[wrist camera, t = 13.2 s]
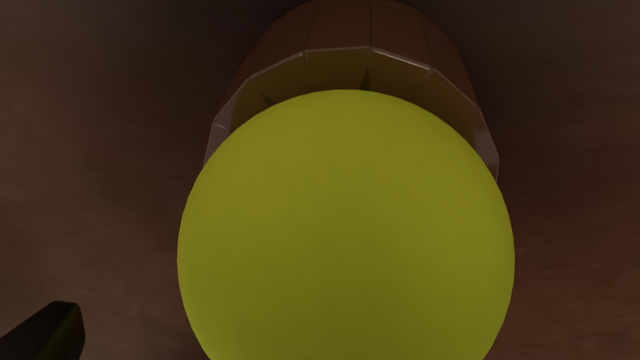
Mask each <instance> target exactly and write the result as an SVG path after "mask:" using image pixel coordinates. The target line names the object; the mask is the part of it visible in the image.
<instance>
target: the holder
mask: <svg viewBox="0 0 640 360" xmlns="http://www.w3.org/2000/svg"><path fill="white" fill-rule="evenodd" d="M328 90H363V91H371V92H378V93H382V94H385V95H389V96H393V97H397V98H400V99H402V100H405V101H407V102H410V103H412V104H415V105H417V106H419V107H421V108H423V109H424V110H426V111H428V112H430V113H432V114H434V115H435V116H437V117H438V118H439V119H441V120H442V121H444V122H445V123H446V124H448V125H449V126H451V127H452V128H453V129H454V130H455V131H456V132H457V133H458V134H459V135H461V136H462V137H463V138H464V139H465V140H466V141H467V142H468V143H469V144H470V146H471V147H472V148H473V149H474V150H475V151H476V153H477V154H478V155H479V156H480V157H481V159H482V160H483V162H484V163H485V165H486V166H487V168H488V169H489V171H490V173H491V174H492V176H493V178H494V180H495V182H496V184H497V180H498V170H499V161H500V159H499V154H498V151H497V148H496V146H495V143H494V140H493V138H492V135H491V132H490V130H489V127H488V125H487V122H486V119H485V117H484V114H483V111H482V109H481V106H480V103H479V101H478V98H477V95H476V93H475V90H474V88H473V85H472V83H471V80H470V78H469V75H468V73H467V70H466V67H465V65H464V62H463V60H462V58H461V55H460V53H459V50H458V49H457V48H456V46H455V45H454V44H453V42H452V41H451V40H450V38H449V37H448V36H447V34H446V33H445V32H444V31H443V30H442V29H441V28H440V27H439V26H438V25H437V24H436V23H435V22H433V21H432V20H431V19H430V18H428V17H427V16H426V15H425V14H423V13H421V12H420V11H418V10H416V9H414V8H413V7H411V6H409V5H406V4H404V3H402V2H399V1H397V0H312V1H309V2H307V3H305V4H302V5H300V6H298V7H296V8H294V9H293V10H291V11H289V12H288V13H286V14H284V15H283V16H282V17H280V18H279V19H278V20H277V21H276V22H274V23H273V24H272V25H271V26H270V27H269V28H268V29H267V30H266V31H265V32H264V33H263V34H262V36H261V37H260V38H259V40H258V41H257V42H256V44H255V45H254V47H253V48H252V50H251V52H250V53H249V54H248V55H247V57H246V58H245V59H244V61H243V63H242V65H241V67H240V69H239V71H238V72H237V74H236V76H235V78H234V80H233V82H232V84H231V86H230V88H229V90H228V92H227V94H226V95H225V97H224V99H223V101H222V103H221V105H220V107H219V109H218V111H217V113H216V115H215V117H214V119H213V121H212V124H211V128H210V133H209V137H208V142H207V146H206V151H205V155H204V160H203V164H202V165H203V168H204V166H205V164H206V163H207V161H208V160H209V158H210V157H211V156H212V155H213V153H214V152H215V151H216V150H217V149H218V147H219V146H220V145H221V144H222V143H223V142H224V141H225V140H226V139H227V138H228V137H229V136H230V135H231V134H232V133H233V132H234V131H235V130H236V129H237V128H239V127H240V126H241V125H243V124H244V123H246V122H247V121H248V120H250V119H251V118H252V117H254V116H255V115H257V114H259V113H261V112H263V111H264V110H266V109H268V108H270V107H272V106H274V105H276V104H279V103H281V102H284V101H286V100H289V99H291V98H294V97H298V96H301V95H305V94H309V93H313V92H320V91H328ZM203 168H202V169H203Z"/></svg>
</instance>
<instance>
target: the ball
mask: <svg viewBox="0 0 640 360" xmlns="http://www.w3.org/2000/svg"><path fill="white" fill-rule="evenodd" d="M514 266H515V253H514V240H513V233H512V228H511V223H510V218H509V214H508V211H507V208H506V205H505V202H504V200H503V197H502V194H501V192H500V190H499V188H498V186H497V184H496V182H495V180H494V178H493V176H492V174H491V173H490V171H489V169H488V168H487V166H486V165H485V163H484V162H483V160H482V159H481V157H480V156H479V155H478V154H477V153H476V151H475V150H474V149H473V148H472V147H471V146H470V144H469V143H468V142H467V141H466V140H465V139H464V138H463V137H462V136H461V135H459V134H458V133H457V132H456V131H455V130H454V129H453V128H452V127H451V126H449V125H448V124H446V123H445V122H444V121H442V120H441V119H439V118H438V117H437V116H435V115H434V114H432V113H430V112H428V111H426V110H424V109H423V108H421V107H419V106H417V105H415V104H412V103H410V102H407V101H405V100H402V99H400V98H397V97H393V96H389V95H385V94H382V93H378V92H371V91H363V90H328V91H320V92H313V93H309V94H305V95H301V96H298V97H294V98H291V99H289V100H286V101H284V102H281V103H279V104H276V105H274V106H272V107H270V108H268V109H266V110H264V111H263V112H261V113H259V114H257V115H255V116H254V117H252V118H251V119H250V120H248V121H247V122H246V123H244V124H243V125H241V126H240V127H239V128H237V129H236V130H235V131H234V132H233V133H232V134H231V135H230V136H229V137H228V138H227V139H226V140H225V141H224V142H223V143H222V144H221V145H220V146H219V147H218V149H217V150H216V151H215V152H214V153H213V155H212V156H211V157H210V158H209V160H208V161H207V163H206V164H205V166H204V168H203V169H202V171H201V172H200V174H199V176H198V177H197V179H196V182H195V184H194V186H193V188H192V190H191V192H190V195H189V197H188V200H187V203H186V206H185V209H184V213H183V216H182V220H181V226H180V231H179V237H178V253H177V267H178V278H179V287H180V291H181V295H182V300H183V304H184V308H185V311H186V313H187V316H188V319H189V322H190V324H191V327H192V329H193V331H194V333H195V335H196V337H197V339H198V341H199V343H200V344H201V346H202V348H203V350H204V351H205V353H206V354H207V355H208V357H209V358H210V360H483V359H484V357H485V356H486V354H487V353H488V351H489V349H490V348H491V346H492V345H493V343H494V341H495V339H496V337H497V335H498V332H499V330H500V328H501V326H502V324H503V321H504V318H505V315H506V312H507V309H508V306H509V303H510V298H511V293H512V287H513V282H514Z"/></svg>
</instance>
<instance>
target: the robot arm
mask: <svg viewBox="0 0 640 360" xmlns="http://www.w3.org/2000/svg"><path fill="white" fill-rule="evenodd" d="M84 343H85V330H84V324H83V319H82V314H81V309H80V307H79V305H78V304H76V303H71V302H64V301H54V302H51V303H49V304H48V305H47V306H45V307H44V308H42V309H41V310H39V311H38V312H37V313H35V314H34V315H32V316H31V317H30V318H28V319H27V320H25V321H24V322H23V323H21V324H20V325H18V326H17V327H15V328H14V329H13V330H11V331H10V332H8V333H7V334H6V335H4V336H3V337H1V338H0V360H79V358H80V355H81V353H82V350H83V347H84Z"/></svg>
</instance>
